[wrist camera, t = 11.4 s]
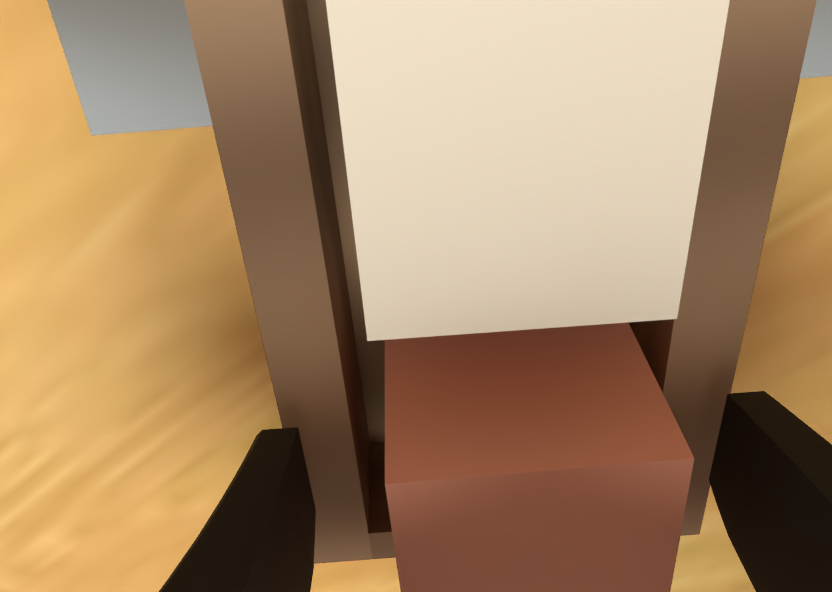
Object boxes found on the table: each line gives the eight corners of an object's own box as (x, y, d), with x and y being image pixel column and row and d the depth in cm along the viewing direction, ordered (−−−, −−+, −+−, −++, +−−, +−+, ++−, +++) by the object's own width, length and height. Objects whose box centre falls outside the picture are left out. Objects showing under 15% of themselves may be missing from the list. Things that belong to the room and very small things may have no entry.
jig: (745, 409, 18) (817, 525, 15) (227, 449, 18) (197, 572, 15) (979, -571, 9) (1268, -762, 6) (-46, -483, 9) (-251, -627, 6)
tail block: (582, 404, 16) (661, 637, 12) (403, 419, 16) (410, 657, 12) (592, 248, 14) (694, 458, 9) (384, 266, 14) (384, 484, 9)
